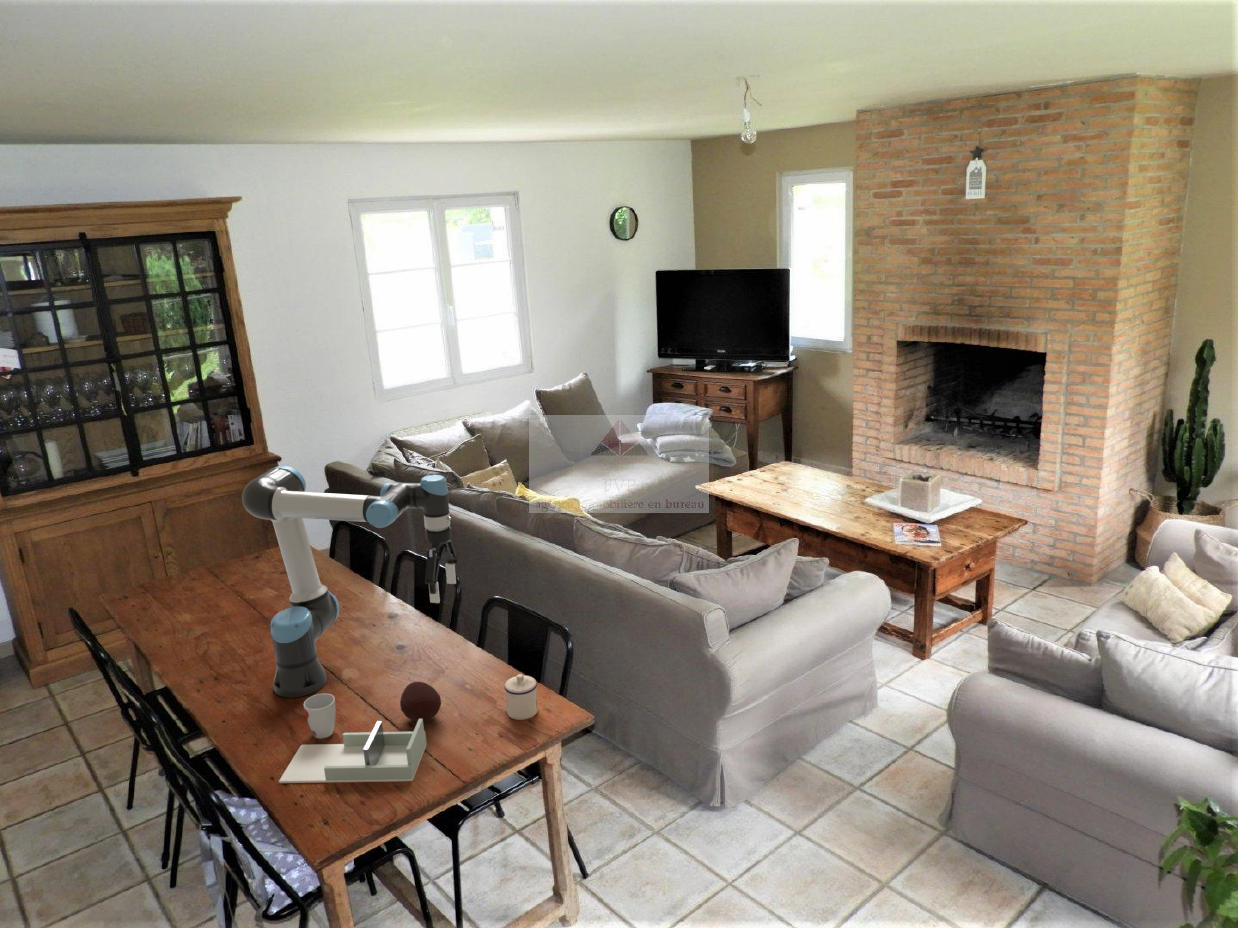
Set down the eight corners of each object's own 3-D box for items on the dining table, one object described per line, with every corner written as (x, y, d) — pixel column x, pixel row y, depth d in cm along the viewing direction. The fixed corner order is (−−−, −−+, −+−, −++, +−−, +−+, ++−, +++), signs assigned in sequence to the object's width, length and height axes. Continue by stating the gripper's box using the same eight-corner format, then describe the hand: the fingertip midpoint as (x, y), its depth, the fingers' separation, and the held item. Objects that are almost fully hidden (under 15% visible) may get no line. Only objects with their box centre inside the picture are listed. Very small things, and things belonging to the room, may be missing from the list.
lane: (279, 783, 227) (274, 753, 225) (301, 746, 242) (297, 718, 240) (412, 781, 226) (409, 751, 224) (426, 744, 241) (423, 716, 239)
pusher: (366, 775, 228) (363, 749, 226) (380, 745, 240) (377, 721, 238) (371, 775, 228) (367, 749, 226) (384, 745, 240) (381, 721, 238)
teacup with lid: (545, 712, 254) (542, 675, 251) (518, 724, 249) (515, 687, 245) (521, 695, 263) (518, 660, 260) (494, 707, 258) (491, 671, 254)
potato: (407, 736, 245) (403, 703, 242) (398, 712, 257) (394, 680, 254) (447, 726, 249) (443, 693, 246) (436, 703, 261) (433, 671, 258)
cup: (312, 726, 252) (307, 694, 249) (341, 723, 252) (337, 692, 249) (305, 743, 244) (300, 710, 241) (335, 740, 245) (331, 708, 242)
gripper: (433, 543, 254) (440, 611, 260) (464, 513, 277) (469, 576, 283) (409, 542, 255) (415, 610, 261) (441, 512, 279) (446, 575, 285)
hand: (443, 592), depth 272 cm, fingers open, 13 cm apart
